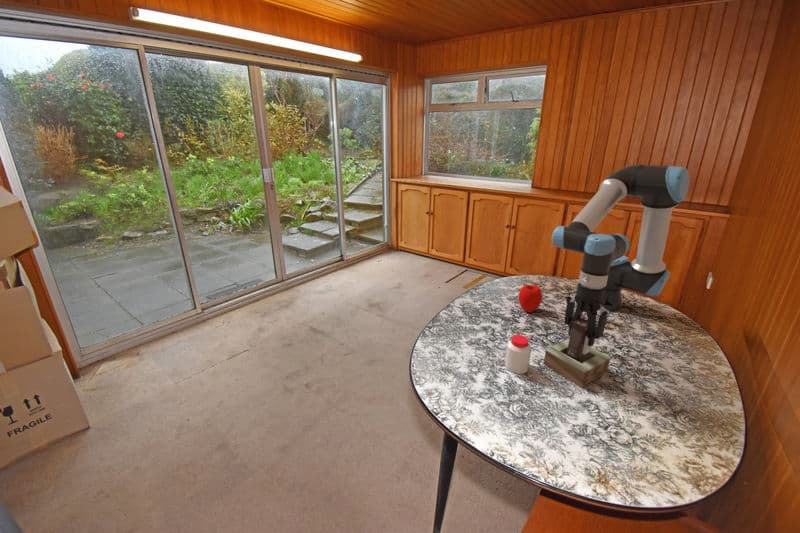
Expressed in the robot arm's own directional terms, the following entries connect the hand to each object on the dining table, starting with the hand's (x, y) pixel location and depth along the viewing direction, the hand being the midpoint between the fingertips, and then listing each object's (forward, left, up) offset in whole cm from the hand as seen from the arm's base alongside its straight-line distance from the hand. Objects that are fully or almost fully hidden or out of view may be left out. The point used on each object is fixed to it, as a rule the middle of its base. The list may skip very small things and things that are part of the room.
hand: (578, 348), depth 115 cm
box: (0, 0, -2) cm, 2 cm away
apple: (-20, -36, -8) cm, 42 cm away
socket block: (0, 0, -8) cm, 8 cm away
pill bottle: (+16, -11, -8) cm, 21 cm away
